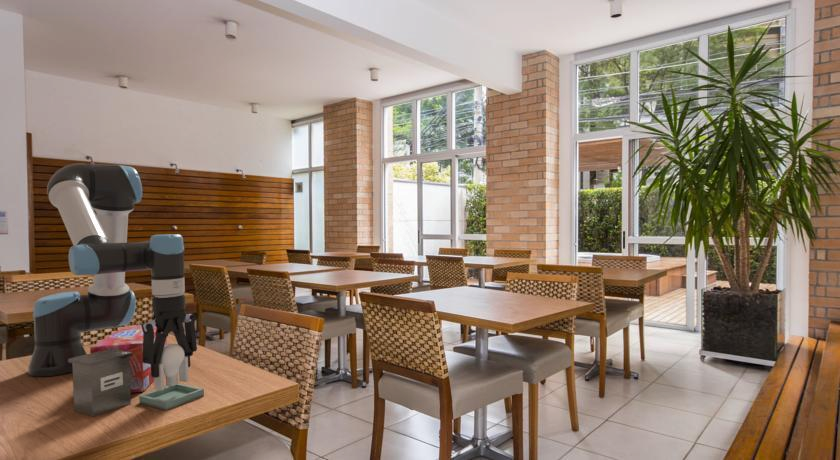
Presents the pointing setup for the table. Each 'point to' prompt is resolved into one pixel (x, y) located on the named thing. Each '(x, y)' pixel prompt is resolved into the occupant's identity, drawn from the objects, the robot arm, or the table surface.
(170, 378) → the lightbulb
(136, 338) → the box
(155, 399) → the tray
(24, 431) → the table surface
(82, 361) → the grey lidded bin
